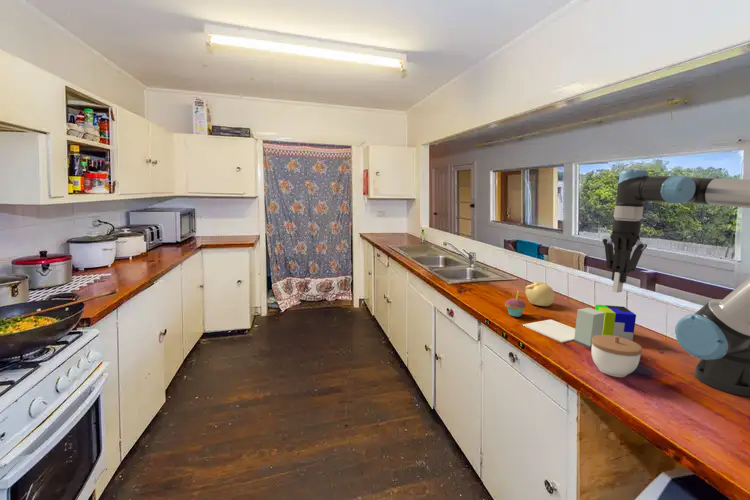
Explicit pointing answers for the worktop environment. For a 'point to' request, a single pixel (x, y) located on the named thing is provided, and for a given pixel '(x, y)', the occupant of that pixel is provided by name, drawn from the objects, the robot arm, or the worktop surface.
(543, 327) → the board
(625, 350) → the lidded bowl
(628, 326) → the puzzle toy
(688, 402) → the worktop surface
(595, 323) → the sage block
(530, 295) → the sculpture
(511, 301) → the cupcake
